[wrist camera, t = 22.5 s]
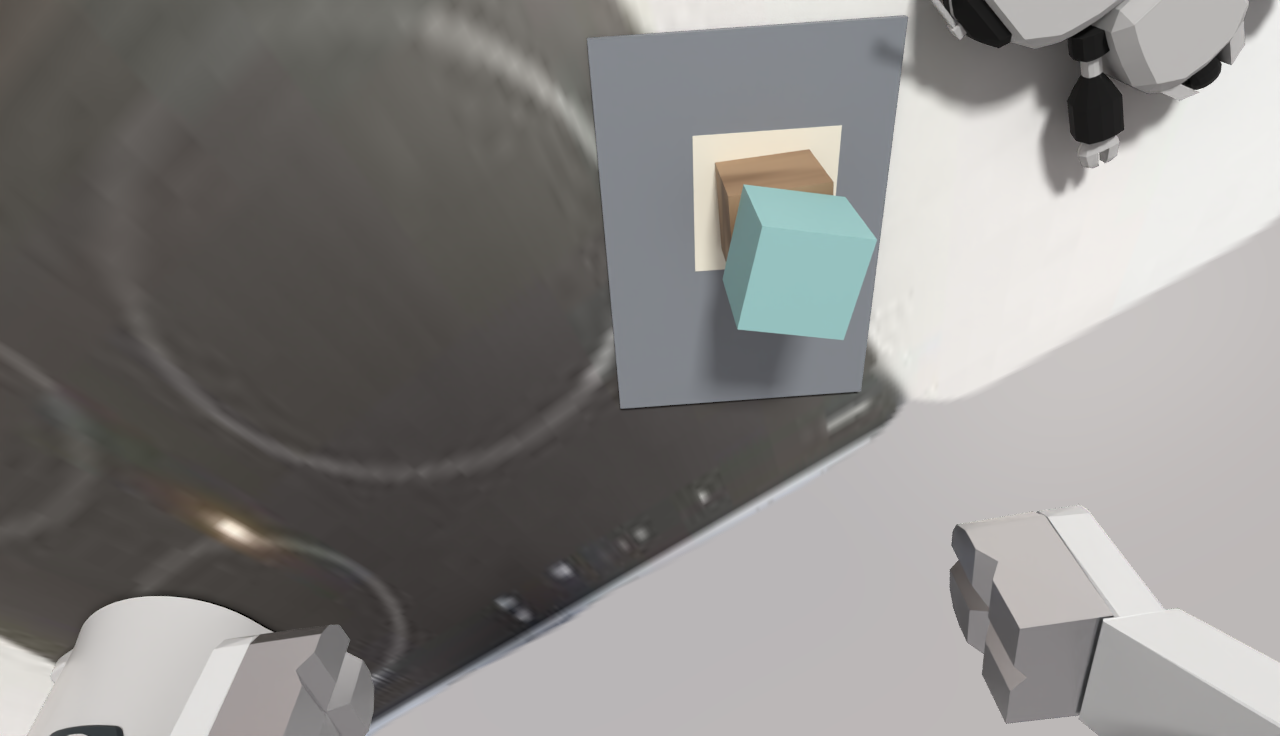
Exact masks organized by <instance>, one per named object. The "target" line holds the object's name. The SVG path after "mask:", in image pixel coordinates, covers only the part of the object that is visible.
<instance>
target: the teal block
mask: <svg viewBox="0 0 1280 736" xmlns="http://www.w3.org/2000/svg"><path fill="white" fill-rule="evenodd" d="M876 242H877V239H876V237H875V236H874V235H873V233H872V232H871V231H870V229H869V228H868V227H867V225H866V224H865V223H864V221H863V220H862V219H861V217H860V216H859V215H858V213H857V212H856V211H855V209H854V208H853V206H852V205H851V204H850V202H849V201H848V200H847V198H846V197H842V196H834V195H826V194H818V193H810V192H801V191H793V190H785V189H777V188H769V187H761V186H753V185H745V184H743V189H742V193H741V198H740V202H739V207H738V211H737V216H736V220H735V225H734V230H733V234H732V239H731V243H730V248H729V252H728V257H727V261H726V266H725V270H724V275H723V283H724V286H725V290H726V293H727V296H728V300H729V303H730V306H731V310H732V313H733V317H734V320H735V323H736V327H737V329H738V330H748V331H758V332H768V333H778V334H788V335H798V336H808V337H817V338H827V339H837V340H844V337H845V334H846V331H847V328H848V325H849V322H850V319H851V316H852V313H853V310H854V307H855V305H856V302H857V299H858V296H859V293H860V290H861V287H862V284H863V281H864V278H865V275H866V272H867V269H868V266H869V263H870V260H871V257H872V254H873V251H874V248H875V245H876Z"/></svg>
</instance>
